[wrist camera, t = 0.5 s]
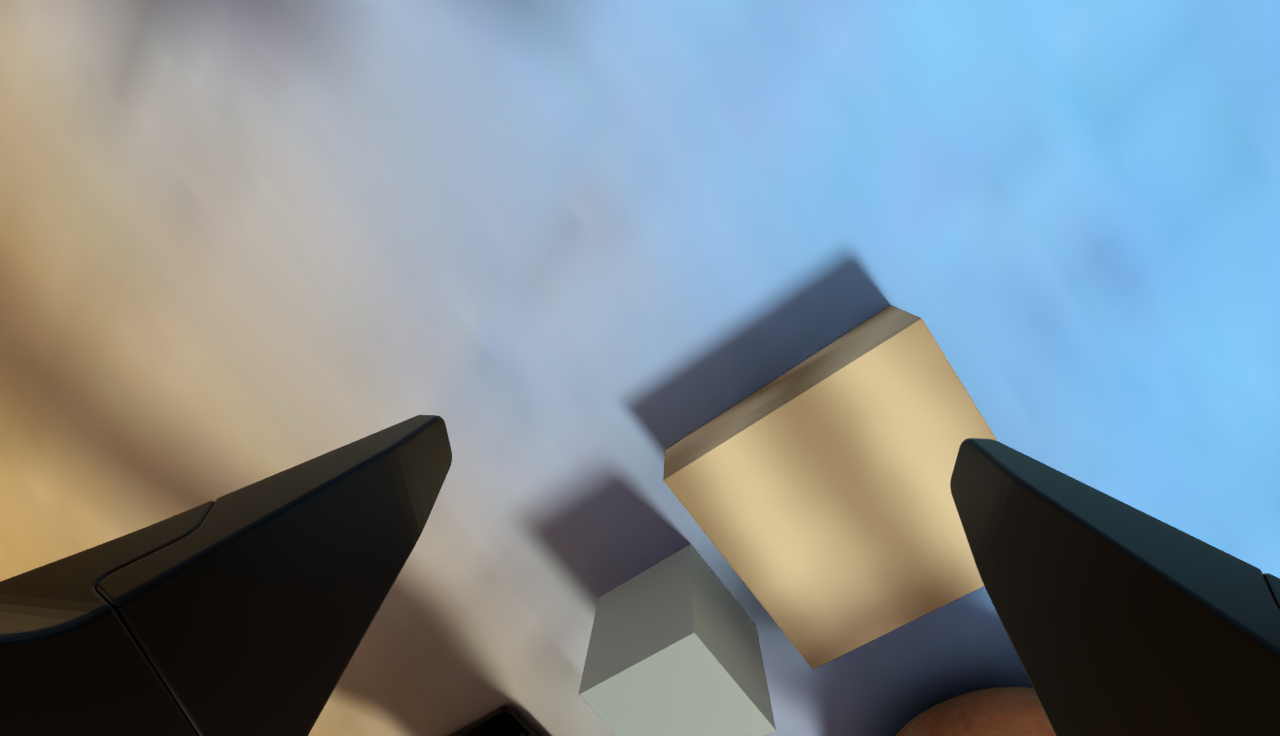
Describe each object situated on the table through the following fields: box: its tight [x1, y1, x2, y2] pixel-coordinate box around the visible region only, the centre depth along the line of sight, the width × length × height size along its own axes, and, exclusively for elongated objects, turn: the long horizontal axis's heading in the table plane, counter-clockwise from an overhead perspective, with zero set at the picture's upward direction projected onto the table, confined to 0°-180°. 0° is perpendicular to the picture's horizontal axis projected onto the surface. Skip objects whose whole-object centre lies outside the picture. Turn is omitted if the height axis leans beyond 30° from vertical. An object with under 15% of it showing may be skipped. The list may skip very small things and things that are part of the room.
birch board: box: [663, 305, 997, 669], centre depth 24 cm, size 12×12×3 cm
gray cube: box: [579, 544, 776, 736], centre depth 25 cm, size 6×6×6 cm
